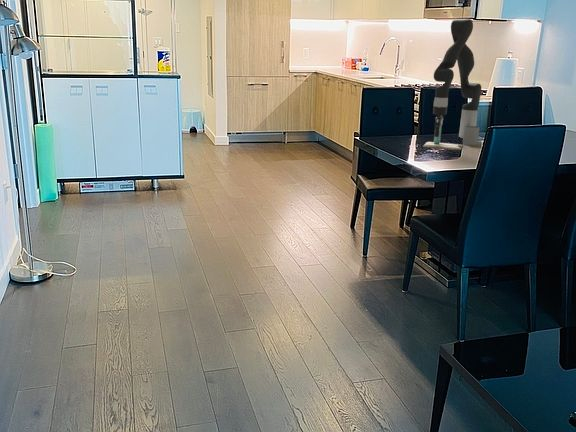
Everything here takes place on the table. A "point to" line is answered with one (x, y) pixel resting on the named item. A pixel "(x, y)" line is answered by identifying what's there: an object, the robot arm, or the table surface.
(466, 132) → the cup
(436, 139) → the marker
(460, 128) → the robot arm
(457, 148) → the clipboard
